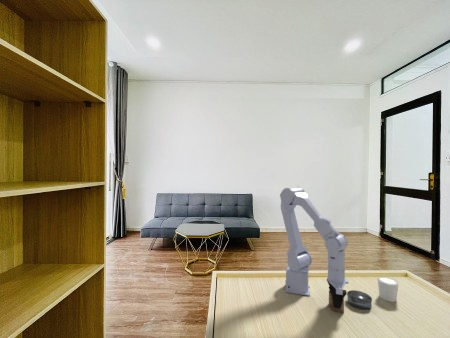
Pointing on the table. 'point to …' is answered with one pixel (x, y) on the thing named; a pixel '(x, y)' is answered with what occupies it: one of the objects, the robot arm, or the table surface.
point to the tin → (359, 300)
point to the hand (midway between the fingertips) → (336, 303)
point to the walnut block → (333, 305)
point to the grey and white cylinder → (388, 288)
